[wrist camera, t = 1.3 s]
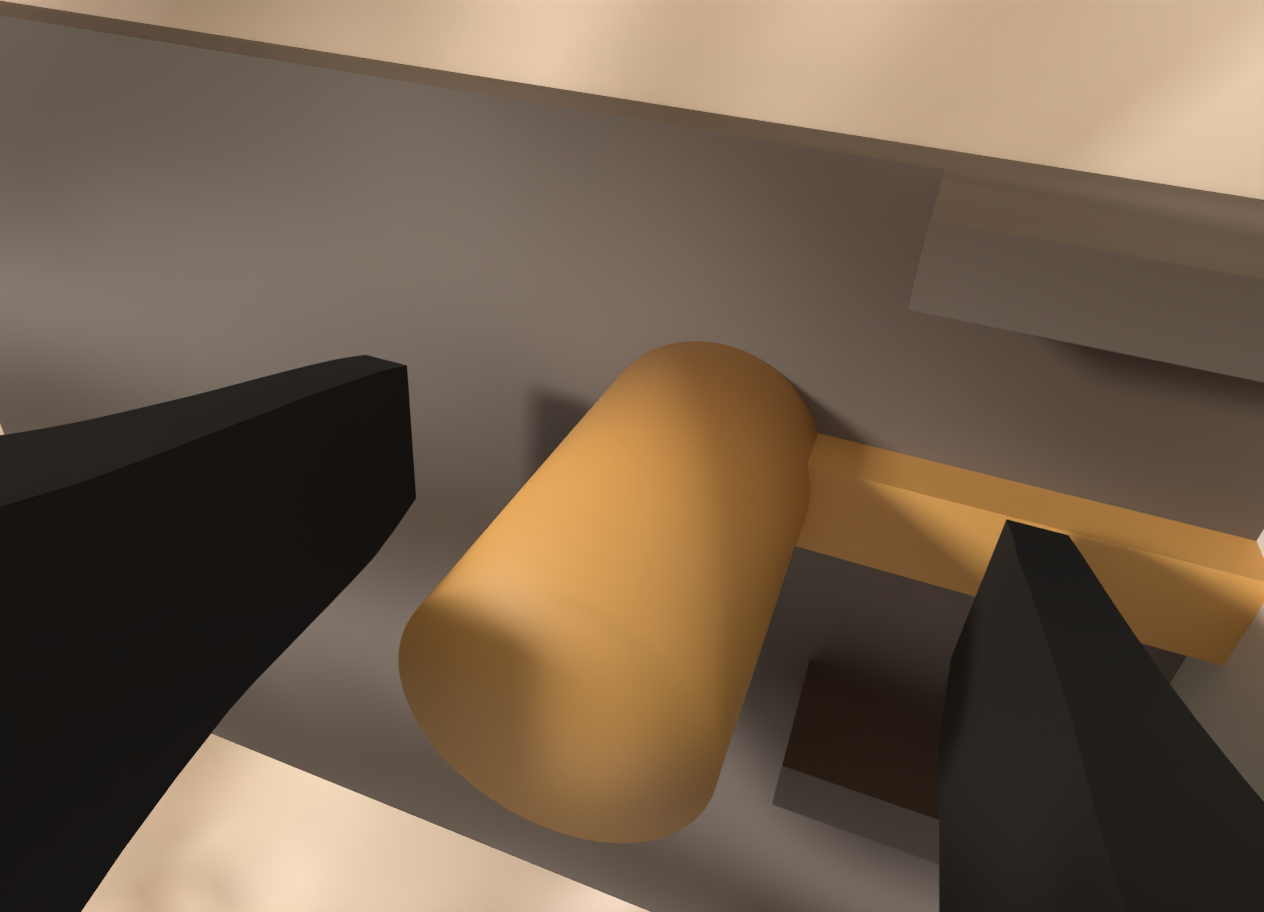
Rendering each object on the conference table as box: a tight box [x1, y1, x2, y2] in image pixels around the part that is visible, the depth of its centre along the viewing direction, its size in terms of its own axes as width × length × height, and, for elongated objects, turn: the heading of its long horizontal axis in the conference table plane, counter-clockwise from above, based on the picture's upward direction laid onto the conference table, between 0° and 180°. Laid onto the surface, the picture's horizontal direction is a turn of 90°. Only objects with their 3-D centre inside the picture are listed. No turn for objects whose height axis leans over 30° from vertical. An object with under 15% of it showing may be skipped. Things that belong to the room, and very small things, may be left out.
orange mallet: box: [398, 341, 1264, 843], centre depth 8 cm, size 5×13×5 cm, turn 85°
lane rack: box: [0, 1, 1264, 912], centre depth 13 cm, size 15×26×3 cm, turn 85°
